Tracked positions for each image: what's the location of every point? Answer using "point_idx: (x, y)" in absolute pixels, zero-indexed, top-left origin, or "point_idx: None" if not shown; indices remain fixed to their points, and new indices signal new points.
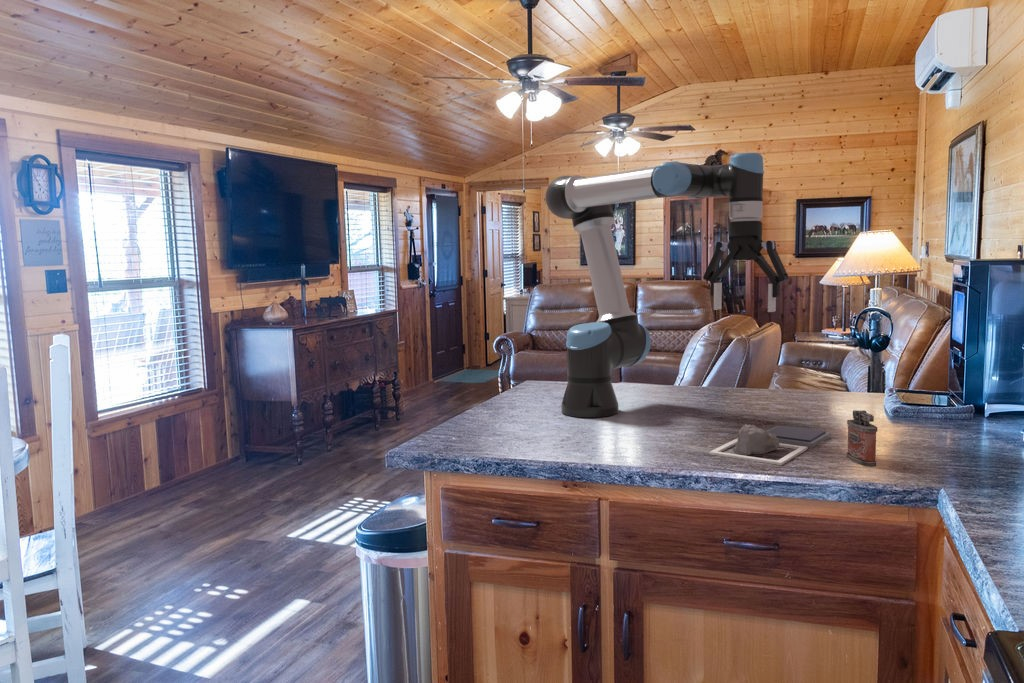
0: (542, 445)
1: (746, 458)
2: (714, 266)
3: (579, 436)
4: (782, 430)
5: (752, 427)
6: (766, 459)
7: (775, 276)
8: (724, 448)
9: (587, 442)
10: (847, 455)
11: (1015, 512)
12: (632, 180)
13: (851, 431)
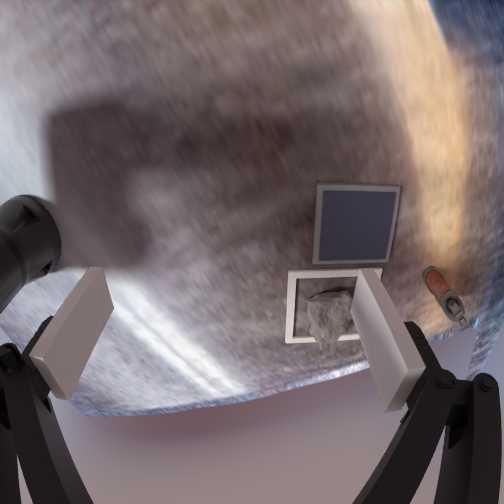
0: (130, 378)
1: None
2: (6, 456)
3: (122, 343)
4: (339, 224)
5: (331, 336)
6: (350, 336)
7: (435, 412)
8: (293, 322)
9: (149, 358)
10: (424, 280)
11: (498, 334)
12: None
13: (439, 302)
